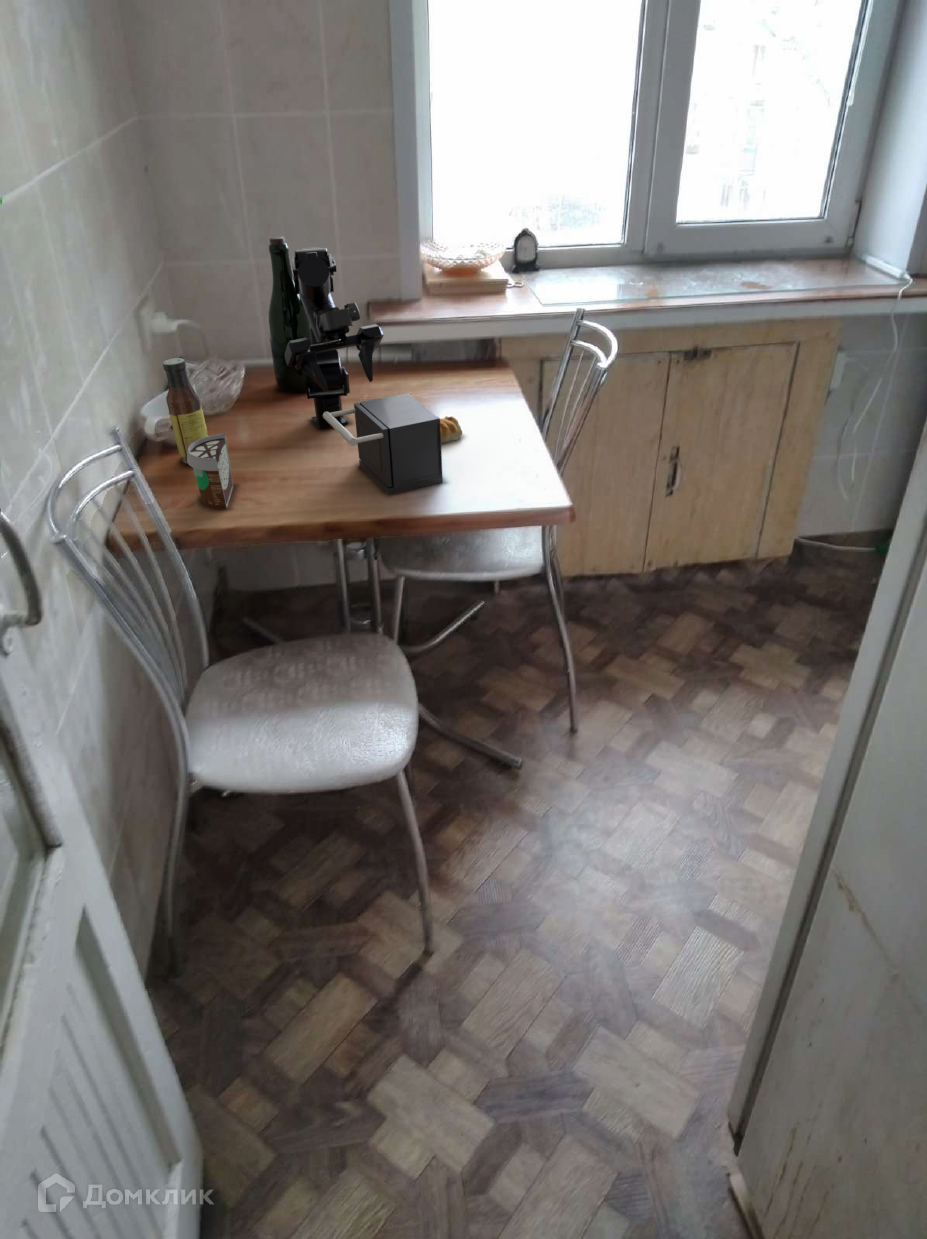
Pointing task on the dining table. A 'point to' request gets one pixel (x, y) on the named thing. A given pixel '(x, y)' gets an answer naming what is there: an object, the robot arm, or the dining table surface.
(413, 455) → the oven
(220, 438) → the food container
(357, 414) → the oven door
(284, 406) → the dining table surface
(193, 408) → the sauce bottle
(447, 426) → the pastry
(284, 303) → the green wine bottle
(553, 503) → the dining table surface
